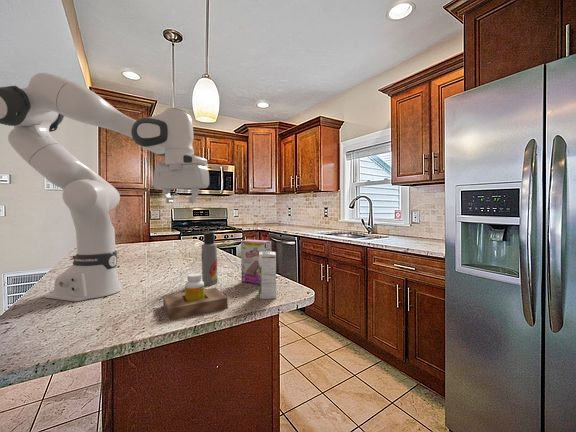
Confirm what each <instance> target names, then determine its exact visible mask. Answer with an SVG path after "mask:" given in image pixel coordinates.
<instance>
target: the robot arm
mask: <svg viewBox="0 0 576 432" xmlns="http://www.w3.org/2000/svg"><path fill="white" fill-rule="evenodd" d="M65 117H66V118H68V119H71V120H74V121H77V122H80V123H84V124H86V125H91V126H95V127H99V128H103V129H107V130H109V131H114V132H116V133H119V134H121V135H124V136H126V137H129V138H131V139H132V140H133V141H134V142H135V143H136V144H137V145H138V146H139V147H141V148H143V149H146V150H147V151H150V152H151V153H153V154H155V155H157V156H159V157H164V161H158V162H157V163H156V165H154V166H155V167H154V170H153V179H152V184H153V185H152V186H153V189H154V190H162V195H163V196H164V198H165V203H166V204H173V203H174V197H171V194H170V193H171V190H185V189H187V190H188V189H190V190H191V192H192V193H191V195H190V196H189V197H188V202H189V203H190V204H191V203H194V204H195V203H197V197H198V195H199V193H200V189H207V188H208V187H209V186H210V172H209V168H208V167H207V165H208V159H206V158H204V157H200V156H198V155H197V154H196V155H195V150H194V147H193V146H194V144H193V143H194V139H195V138H194V126H193V125H194V124H193V119H192V117H191V115H190V114H189V113H187V112H186V111H185V110H183V109H180V108H175V107H168V108H166V109H165V110H163V111H162V112H160V113H158V114H156V115H152V116H149V117H140V118H138V119H134V118H133V117H130V116H129V115H128V116H127V115H126V114H124V113H122V112H121V111H119V110H118V109H117V108H115V107H114V106H113V105H111V104H110V103H109V102H108V101H106V100H105V99H104V98H103V97H101V96H100V95H99V94H97V93H95V92H94V91H93V90H92V89H89V88H88V87H86V86H84V85H82V84H80V83H77V82H75V81H73V80H71V79H67V78H65V77H62V76H60V75H56V74H52V73H47V72H39V73H36V74H34V75H33V76H32V77H31V78H30V80H29V82H28V85H27V87H25V88H22V87H21V88H20V87H19V86H17V85H9V86H0V124H1V125H5V126H9V127H13V128H12V129H11V131H10V132H9V133H8V135H7V136H8V137H7V140H8V143H9V144H10V147H12V148H13V150H14V151H15V152H16V153H17V154H18V155H19V156H20V158H22V159H23V160H24V161H25V162H26V163H27V164H28V165H30V167H32V168H33V169H34V170H35V171H36V172H37V173H38V174H40V175H41V176H42V177H43V178H45V179H46V180H47V181H48V182H49V183H51V184H52V185H54V186H56V187H58V188H60V189H62V190H63V191H62V200H63V202H64V204H65V205H66V206H67V207H68V209H69V211H70V215H71V219H72V221H73V225H74V228H75V237H76V254H75V255H72V256H70V259H69V261H73V262H72V265H71V266H69V267H68V268H67V269H66V270H65V271H63V272H62V273H61V274H60V275H59V274H58V276H57V277H56V278H55V280H54V285H53V287H54V288H53V289H54V290H51V291H49V292H47V293H46V294H45V296H44V298H45V299H53V300H54V299H55V300H62V301H69V302H70V301H71V302H81V301H85V300H89V299H96V298H102V297H106V296H107V297H108V296H110V295H114V294H115V293H119V292H120V291H122V289H123V287H122V285H121V281H120V277H119V273H118V265H117V264H118V251H117V250H116V233H115V232H116V231H115V227H114V226H113V223H112V219H111V216H110V212H111V211H112V210H113V209H115V208H116V207H117V206H118V205H119V203H120V201H121V195H120V192H119V191H118V190H117V188H116V187H114V185H112V184H111V183H109V182H108V181H106V180H105V178H103V177H102V176H100V175H99V174H97V173H96V172H95V171H94V170H92V169H91V168H89V167H88V165H85V164H84V163H83V162H82V161H80V160H79V159H78V158H77V157H76V156H74V154H72V153H71V152H70V151H69V150H68V149H67V148H65V146H63V145H62V144H61V143H60V142H59V141H57V140H56V139H55V138H54V137H53V136H52V135H51V133H52V132H55V131H56V130H58V128H59V127H58V126H59V125H60V124H61V123H62V121H63V119H64V118H65Z"/></svg>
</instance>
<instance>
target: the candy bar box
mask: <svg viewBox="0 0 576 432" xmlns="http://www.w3.org/2000/svg"><path fill="white" fill-rule="evenodd" d="M240 244H241V245H240V247H241V248H240V251H241V252H240V253H241V257H240V258H241V260H240V261H241V283H247V284H253V285H254V284H255V285H258V267H259V252H265V251H270V252H272V240H263V239H262V240H259V239H243V240H241V241H240Z"/></svg>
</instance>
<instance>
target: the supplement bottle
mask: <svg viewBox="0 0 576 432" xmlns="http://www.w3.org/2000/svg"><path fill="white" fill-rule="evenodd" d="M186 280H187V282H185V284H184V287H185V288H184V289H185V292H184V293H185V296H186V302H190V301H195V300H201V299H205V293H204V289H205V285H204V282H203V281H202V273H197V272H196V273H189V274H188V275H187V279H186Z"/></svg>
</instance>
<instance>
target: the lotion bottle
mask: <svg viewBox="0 0 576 432" xmlns="http://www.w3.org/2000/svg"><path fill="white" fill-rule="evenodd" d="M200 247H201V248H200V249H201V274H202V279H201V281H203V282H204V286H212V285H216V284H217V283H218V251H217V250H218V245H217V244H216V243H215V233H214V231H205V232H203V243H202V244H201V246H200Z"/></svg>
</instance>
